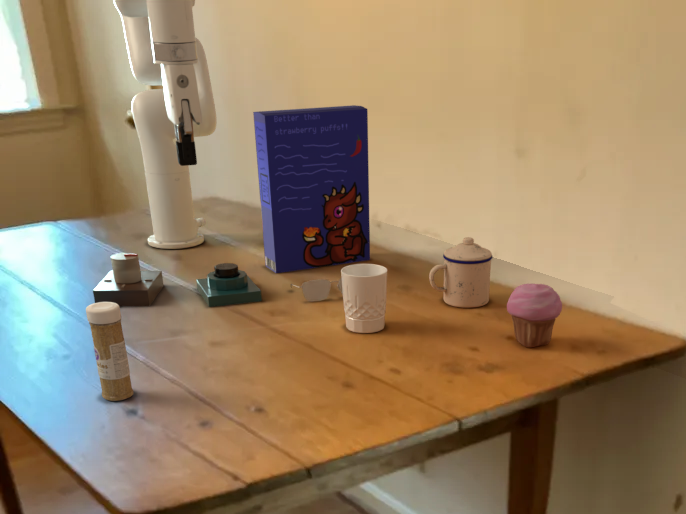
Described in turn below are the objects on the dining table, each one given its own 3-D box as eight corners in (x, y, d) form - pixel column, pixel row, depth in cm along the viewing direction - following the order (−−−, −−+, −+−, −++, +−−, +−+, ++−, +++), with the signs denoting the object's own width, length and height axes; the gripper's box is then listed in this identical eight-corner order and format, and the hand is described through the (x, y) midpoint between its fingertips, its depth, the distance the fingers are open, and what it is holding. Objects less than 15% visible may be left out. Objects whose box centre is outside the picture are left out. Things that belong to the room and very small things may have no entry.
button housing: (197, 289, 177) (194, 268, 175) (247, 284, 180) (245, 263, 178) (209, 307, 167) (206, 285, 165) (262, 301, 170) (260, 280, 168)
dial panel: (113, 286, 178) (110, 270, 177) (163, 285, 179) (161, 269, 177) (95, 306, 167) (92, 289, 166) (149, 306, 168) (147, 289, 166)
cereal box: (357, 253, 199) (354, 104, 183) (370, 259, 195) (367, 107, 179) (265, 266, 190) (253, 110, 174) (276, 273, 186) (264, 114, 170)
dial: (112, 284, 169) (107, 258, 167) (117, 276, 173) (113, 251, 171) (139, 283, 169) (135, 257, 167) (143, 276, 174) (140, 250, 171)
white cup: (394, 322, 160) (393, 265, 155) (378, 337, 154) (377, 278, 148) (352, 317, 162) (351, 261, 157) (335, 331, 156) (333, 273, 151)
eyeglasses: (300, 303, 169) (298, 281, 167) (289, 294, 176) (287, 273, 174) (370, 295, 174) (369, 273, 172) (356, 286, 180) (355, 266, 179)
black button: (213, 274, 173) (212, 264, 172) (236, 272, 174) (235, 262, 173) (217, 280, 169) (216, 270, 168) (241, 278, 171) (240, 268, 169)
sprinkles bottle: (96, 396, 132) (78, 306, 125) (122, 387, 135) (106, 298, 128) (114, 404, 129) (97, 313, 122) (140, 395, 132) (125, 305, 125)
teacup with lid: (478, 292, 176) (481, 230, 169) (497, 305, 168) (501, 242, 162) (420, 298, 172) (421, 235, 166) (437, 312, 165) (439, 247, 159)
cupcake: (523, 355, 146) (528, 294, 141) (495, 339, 153) (498, 280, 148) (568, 347, 150) (574, 287, 145) (538, 331, 156) (543, 273, 151)
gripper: (204, 57, 154) (216, 171, 164) (188, 48, 165) (200, 155, 175) (160, 58, 151) (174, 174, 161) (146, 49, 163) (160, 158, 173)
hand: (187, 164), depth 168 cm, fingers closed
